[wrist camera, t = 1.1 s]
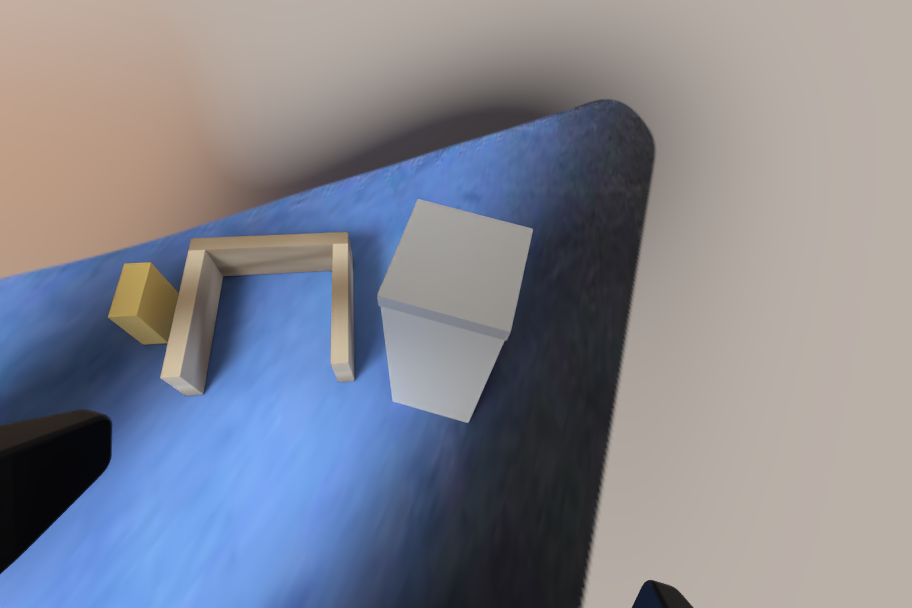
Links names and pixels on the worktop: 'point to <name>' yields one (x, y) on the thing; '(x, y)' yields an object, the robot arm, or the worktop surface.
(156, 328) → the mustard block
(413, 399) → the white plug
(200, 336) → the bay
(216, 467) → the worktop surface
